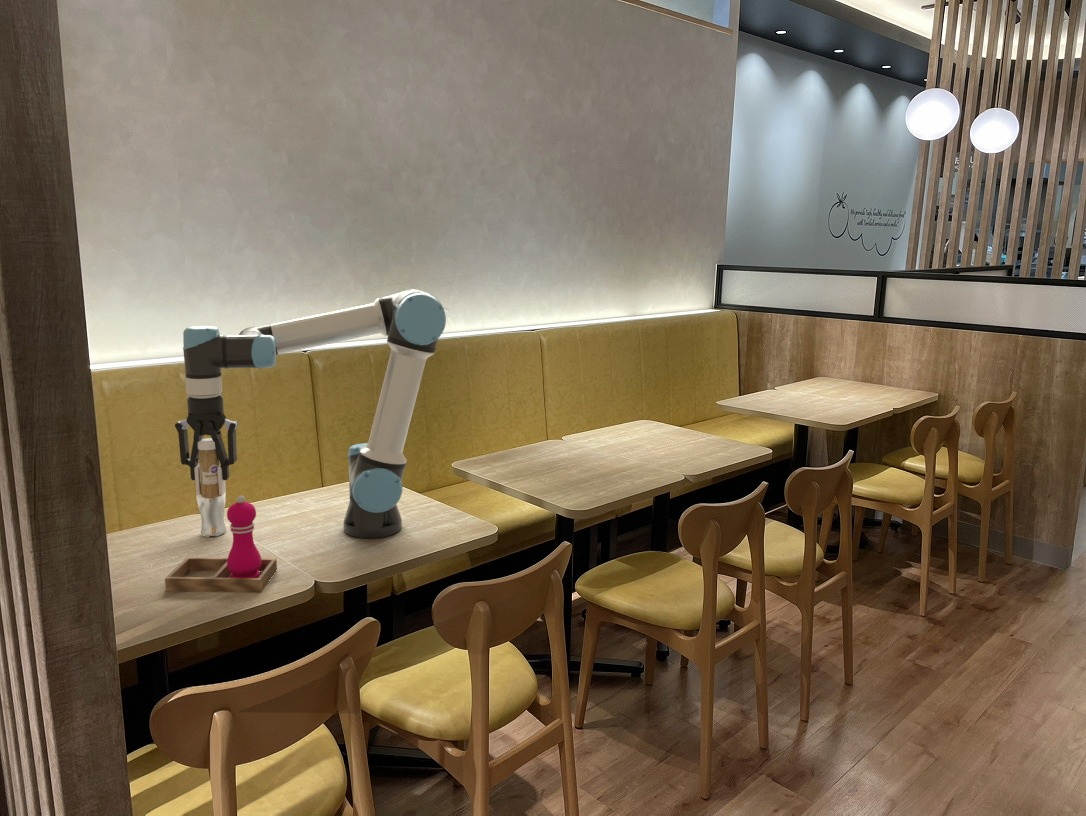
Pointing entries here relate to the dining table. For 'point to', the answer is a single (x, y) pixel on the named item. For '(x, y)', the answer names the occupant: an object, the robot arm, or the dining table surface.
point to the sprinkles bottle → (208, 468)
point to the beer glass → (212, 515)
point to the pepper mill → (243, 541)
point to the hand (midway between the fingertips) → (211, 492)
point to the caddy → (217, 577)
